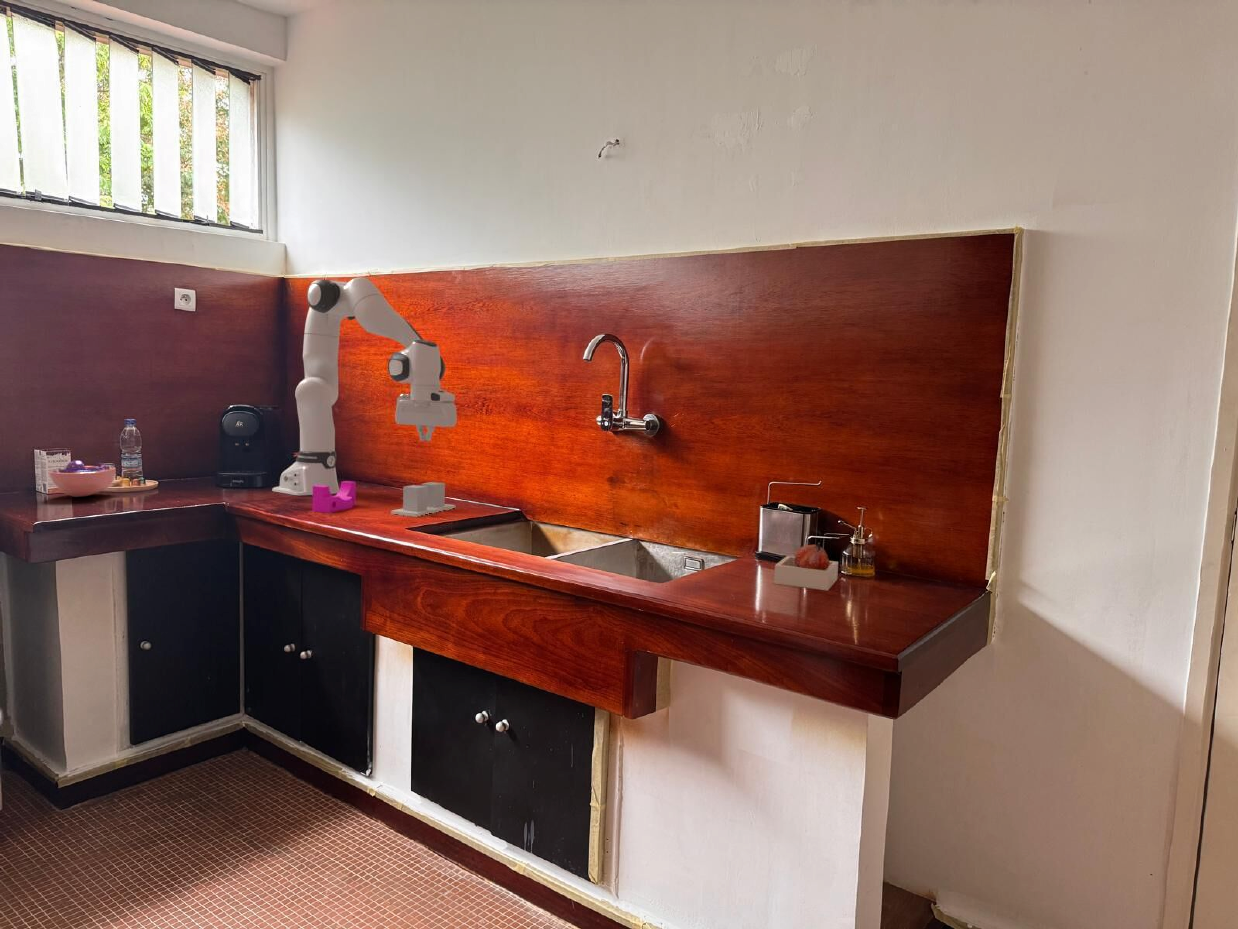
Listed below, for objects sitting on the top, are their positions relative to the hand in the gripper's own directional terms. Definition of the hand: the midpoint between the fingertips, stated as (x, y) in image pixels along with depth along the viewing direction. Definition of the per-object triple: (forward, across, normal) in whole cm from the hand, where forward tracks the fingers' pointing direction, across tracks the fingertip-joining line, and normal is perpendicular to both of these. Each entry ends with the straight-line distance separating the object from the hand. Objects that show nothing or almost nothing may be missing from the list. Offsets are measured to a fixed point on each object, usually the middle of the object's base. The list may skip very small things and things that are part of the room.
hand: (425, 440), depth 263 cm
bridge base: (+22, 0, 0) cm, 22 cm away
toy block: (+22, -24, -10) cm, 34 cm away
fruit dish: (+23, +122, -28) cm, 127 cm away
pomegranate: (+23, +122, -28) cm, 127 cm away
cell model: (+21, -101, -37) cm, 110 cm away
